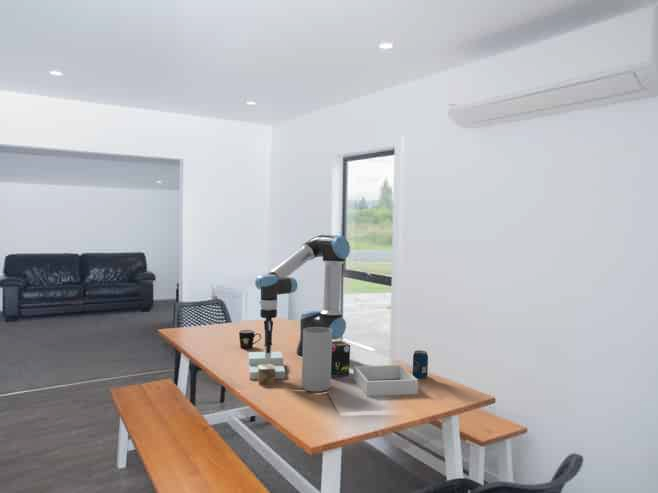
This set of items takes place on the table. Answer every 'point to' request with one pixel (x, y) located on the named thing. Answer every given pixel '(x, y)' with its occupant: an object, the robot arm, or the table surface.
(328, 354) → the cylinder vase
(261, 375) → the cube
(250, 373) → the steps
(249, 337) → the coffee mug
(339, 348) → the tampon box
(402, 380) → the tray
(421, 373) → the soda can
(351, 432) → the table surface
